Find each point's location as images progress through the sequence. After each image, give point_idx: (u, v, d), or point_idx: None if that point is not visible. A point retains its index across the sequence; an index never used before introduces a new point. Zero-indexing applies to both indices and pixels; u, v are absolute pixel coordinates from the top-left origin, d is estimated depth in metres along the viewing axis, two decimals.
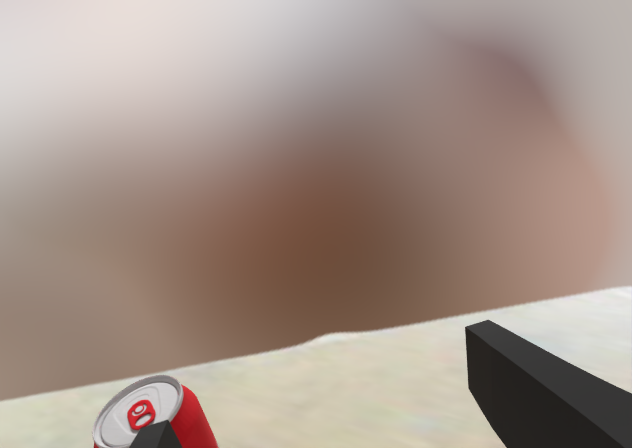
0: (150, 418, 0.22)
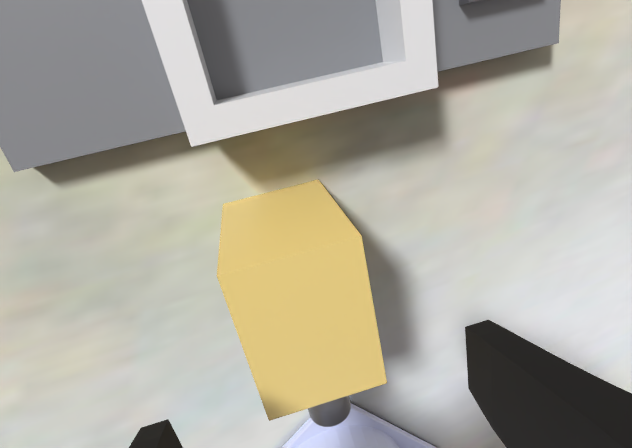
0: None
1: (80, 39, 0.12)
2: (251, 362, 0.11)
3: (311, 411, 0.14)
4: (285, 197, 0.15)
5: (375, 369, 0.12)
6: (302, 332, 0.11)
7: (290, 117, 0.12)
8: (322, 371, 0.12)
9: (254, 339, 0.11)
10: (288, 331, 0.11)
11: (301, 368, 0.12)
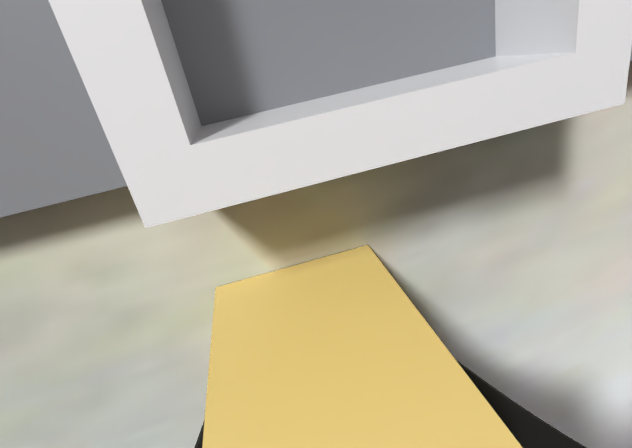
0: None
1: None
2: None
3: None
4: (320, 285, 0.09)
5: None
6: None
7: (346, 165, 0.06)
8: None
9: None
10: None
11: None
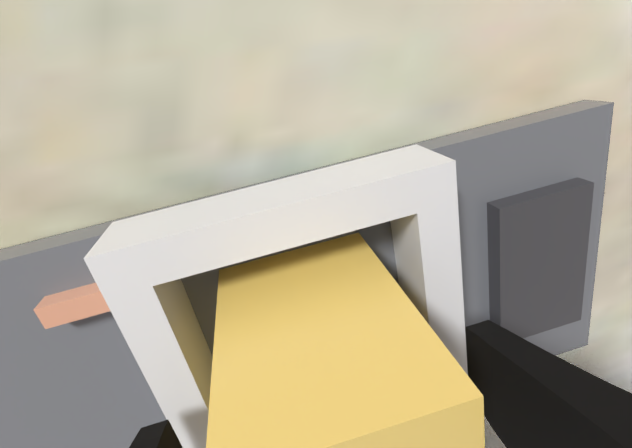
0: None
1: (112, 418, 0.12)
2: None
3: None
4: (314, 267, 0.10)
5: None
6: None
7: None
8: None
9: None
10: None
11: None
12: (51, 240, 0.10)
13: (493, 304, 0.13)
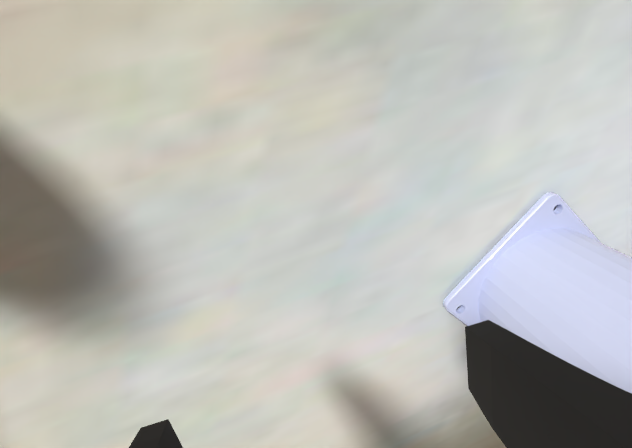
0: None
1: None
2: None
3: None
4: None
5: None
6: None
7: None
8: None
9: None
10: None
11: None
12: None
13: None
